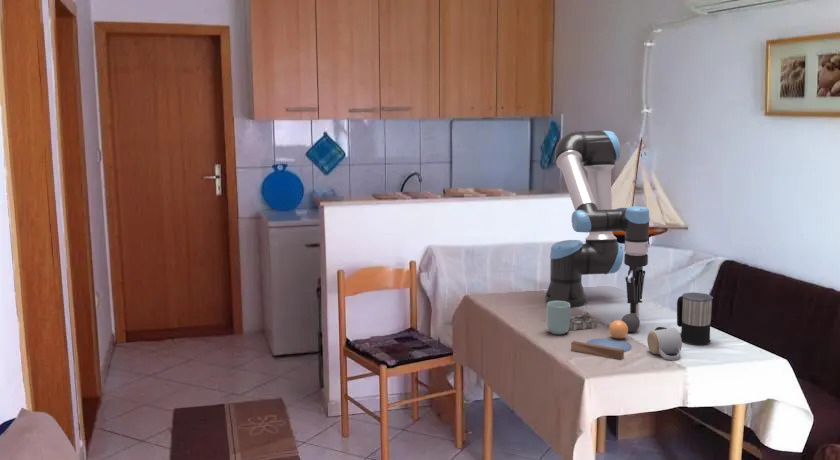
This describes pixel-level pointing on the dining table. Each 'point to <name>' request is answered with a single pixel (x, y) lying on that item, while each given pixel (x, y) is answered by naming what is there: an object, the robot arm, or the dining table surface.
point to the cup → (558, 316)
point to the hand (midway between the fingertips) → (634, 321)
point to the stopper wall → (597, 350)
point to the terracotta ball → (618, 329)
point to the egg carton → (582, 322)
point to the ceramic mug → (665, 342)
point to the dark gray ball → (631, 322)
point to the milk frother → (694, 318)
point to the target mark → (611, 343)
